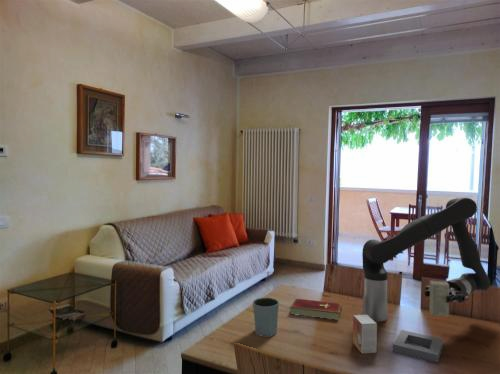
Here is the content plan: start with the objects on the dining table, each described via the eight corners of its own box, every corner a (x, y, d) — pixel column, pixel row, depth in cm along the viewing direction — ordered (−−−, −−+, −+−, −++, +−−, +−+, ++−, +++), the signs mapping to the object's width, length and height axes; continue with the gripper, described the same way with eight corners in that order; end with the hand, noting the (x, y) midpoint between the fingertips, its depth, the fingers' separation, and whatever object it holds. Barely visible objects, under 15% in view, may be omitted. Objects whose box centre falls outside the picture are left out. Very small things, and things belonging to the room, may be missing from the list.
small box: (352, 343, 132) (352, 314, 132) (367, 342, 133) (367, 314, 132) (361, 354, 124) (361, 323, 124) (376, 353, 125) (377, 323, 125)
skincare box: (446, 313, 138) (447, 281, 137) (449, 317, 134) (449, 284, 133) (428, 311, 140) (429, 279, 139) (430, 315, 136) (430, 283, 135)
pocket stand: (392, 351, 126) (393, 344, 126) (401, 336, 138) (401, 329, 138) (438, 362, 118) (438, 355, 118) (442, 345, 130) (442, 339, 130)
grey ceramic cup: (282, 329, 144) (282, 299, 144) (273, 339, 135) (273, 308, 135) (259, 325, 149) (259, 296, 148) (248, 334, 139) (248, 304, 139)
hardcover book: (295, 306, 171) (295, 297, 171) (341, 311, 164) (341, 302, 164) (290, 315, 159) (290, 306, 159) (339, 321, 153) (339, 312, 153)
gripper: (439, 275, 150) (417, 282, 141) (476, 283, 139) (456, 291, 129) (438, 293, 151) (417, 301, 141) (476, 303, 139) (456, 312, 129)
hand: (436, 296), depth 135 cm, fingers closed on skincare box, 7 cm apart
